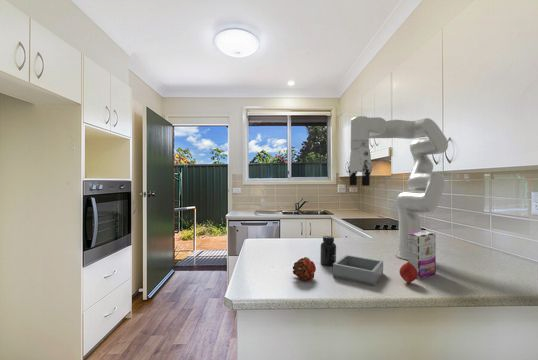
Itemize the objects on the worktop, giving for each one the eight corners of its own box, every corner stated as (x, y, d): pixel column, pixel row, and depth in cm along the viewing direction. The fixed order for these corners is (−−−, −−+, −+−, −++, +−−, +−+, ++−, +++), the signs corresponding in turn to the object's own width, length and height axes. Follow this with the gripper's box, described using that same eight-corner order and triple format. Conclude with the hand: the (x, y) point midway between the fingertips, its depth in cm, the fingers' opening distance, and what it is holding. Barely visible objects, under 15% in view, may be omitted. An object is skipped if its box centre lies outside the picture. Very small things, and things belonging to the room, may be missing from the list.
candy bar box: (423, 270, 108) (424, 230, 108) (436, 274, 104) (436, 232, 104) (406, 274, 103) (406, 233, 103) (418, 278, 98) (419, 235, 98)
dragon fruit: (302, 289, 92) (302, 281, 104) (321, 276, 92) (319, 269, 104) (288, 268, 94) (290, 263, 105) (307, 255, 94) (307, 251, 105)
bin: (346, 266, 112) (346, 254, 112) (383, 273, 104) (383, 261, 104) (332, 276, 100) (332, 263, 100) (373, 286, 91) (373, 272, 91)
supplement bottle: (336, 267, 111) (336, 239, 111) (320, 265, 113) (320, 238, 113) (335, 262, 118) (335, 235, 118) (320, 261, 119) (320, 234, 119)
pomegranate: (396, 280, 97) (396, 258, 97) (410, 279, 98) (411, 258, 97) (405, 286, 91) (405, 263, 91) (421, 286, 92) (421, 263, 92)
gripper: (379, 143, 104) (379, 186, 104) (356, 148, 121) (356, 185, 121) (363, 142, 103) (362, 185, 103) (341, 147, 120) (341, 184, 120)
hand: (359, 185), depth 112 cm, fingers open, 9 cm apart
